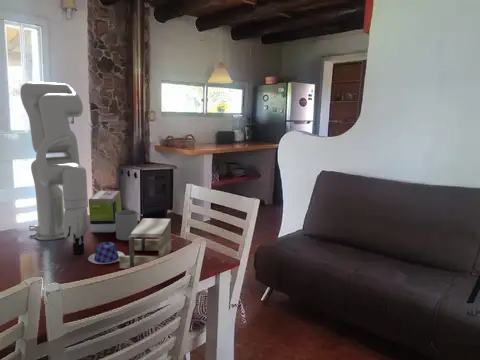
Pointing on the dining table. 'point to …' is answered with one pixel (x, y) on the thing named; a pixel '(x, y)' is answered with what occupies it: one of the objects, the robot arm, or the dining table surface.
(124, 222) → the cup
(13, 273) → the dining table surface
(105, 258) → the pudding
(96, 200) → the tea box
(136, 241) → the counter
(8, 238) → the dining table surface
